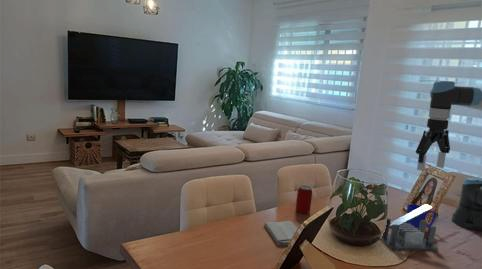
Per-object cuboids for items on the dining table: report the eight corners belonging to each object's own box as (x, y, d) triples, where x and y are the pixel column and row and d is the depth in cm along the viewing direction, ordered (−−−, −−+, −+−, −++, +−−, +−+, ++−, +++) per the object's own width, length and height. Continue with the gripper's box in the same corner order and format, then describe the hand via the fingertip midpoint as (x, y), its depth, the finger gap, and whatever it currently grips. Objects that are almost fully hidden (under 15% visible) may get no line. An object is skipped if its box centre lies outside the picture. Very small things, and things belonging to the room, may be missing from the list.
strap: (426, 205, 144) (425, 202, 144) (433, 209, 140) (432, 206, 140) (386, 226, 143) (385, 223, 143) (392, 230, 139) (391, 228, 139)
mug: (435, 235, 154) (439, 213, 152) (406, 230, 156) (410, 209, 154) (429, 227, 162) (433, 207, 160) (401, 223, 164) (405, 202, 162)
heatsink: (418, 236, 151) (421, 216, 149) (437, 250, 139) (442, 229, 138) (375, 235, 148) (378, 215, 146) (391, 250, 136) (395, 228, 134)
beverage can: (311, 211, 168) (314, 187, 166) (306, 215, 162) (309, 190, 160) (298, 207, 171) (301, 184, 169) (293, 211, 166) (296, 187, 164)
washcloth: (278, 247, 131) (278, 240, 130) (262, 226, 148) (263, 219, 147) (307, 246, 134) (308, 238, 133) (288, 225, 151) (289, 218, 150)
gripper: (446, 116, 153) (439, 163, 157) (410, 118, 141) (403, 169, 145) (464, 119, 147) (456, 168, 151) (428, 120, 134) (420, 174, 138)
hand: (430, 168), depth 148 cm, fingers open, 13 cm apart
